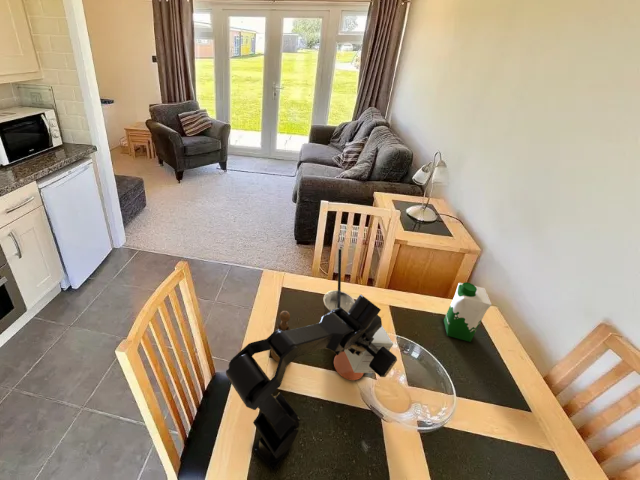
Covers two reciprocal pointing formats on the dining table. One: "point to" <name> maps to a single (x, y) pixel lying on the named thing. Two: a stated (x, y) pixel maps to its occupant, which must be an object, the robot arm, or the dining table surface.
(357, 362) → the white packaging box
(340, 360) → the coaster
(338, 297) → the steel tumbler with straw
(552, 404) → the dining table surface
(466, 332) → the milk carton
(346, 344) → the robot arm
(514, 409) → the dining table surface
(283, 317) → the wooden pepper mill
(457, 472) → the dining table surface
